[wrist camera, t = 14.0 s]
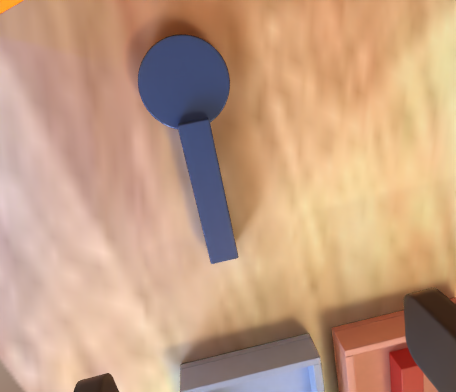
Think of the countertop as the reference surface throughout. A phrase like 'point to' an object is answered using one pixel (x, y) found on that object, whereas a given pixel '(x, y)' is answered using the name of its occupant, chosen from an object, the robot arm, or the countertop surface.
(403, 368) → the red spoon
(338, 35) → the countertop surface
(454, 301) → the red tray
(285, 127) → the countertop surface
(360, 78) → the countertop surface
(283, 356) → the blue tray
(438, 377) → the robot arm
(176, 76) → the blue spoon
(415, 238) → the countertop surface
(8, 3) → the orange juice
